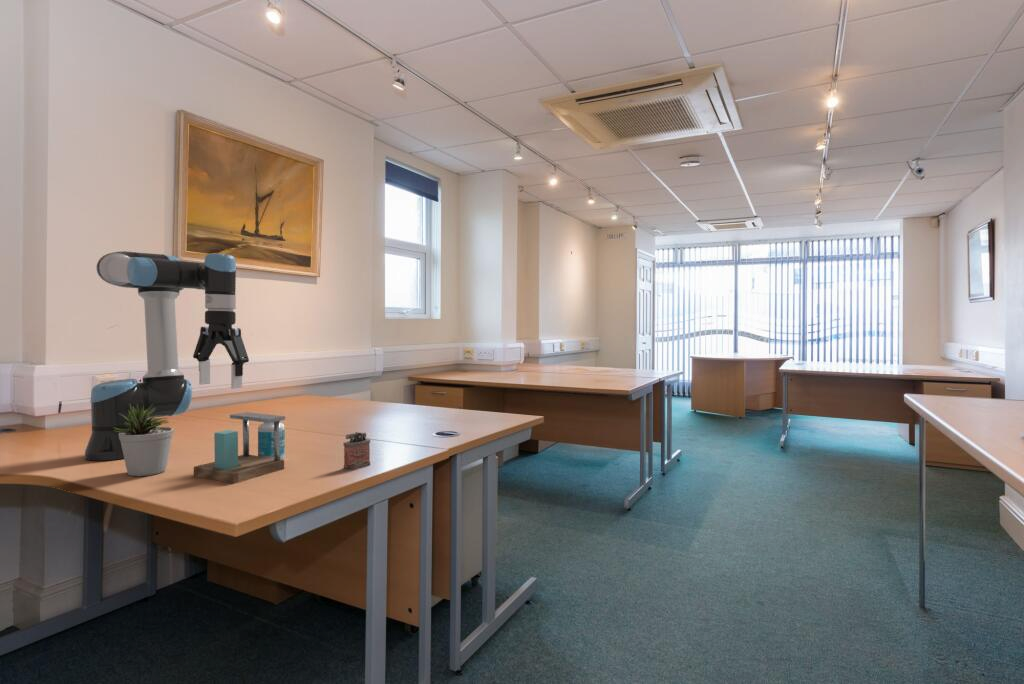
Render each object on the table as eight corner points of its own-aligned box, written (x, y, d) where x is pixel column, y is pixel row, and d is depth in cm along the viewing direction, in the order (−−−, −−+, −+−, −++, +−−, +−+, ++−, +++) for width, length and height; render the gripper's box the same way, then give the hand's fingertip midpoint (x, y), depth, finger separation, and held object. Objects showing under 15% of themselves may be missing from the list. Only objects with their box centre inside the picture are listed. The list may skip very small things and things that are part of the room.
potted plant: (113, 471, 149) (112, 400, 148) (171, 464, 157) (170, 396, 157) (114, 482, 139) (112, 405, 138) (176, 473, 147) (175, 401, 147)
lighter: (366, 463, 159) (366, 429, 159) (372, 465, 157) (372, 431, 156) (341, 468, 154) (341, 433, 153) (347, 470, 151) (346, 435, 151)
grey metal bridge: (230, 466, 155) (229, 414, 155) (247, 462, 160) (246, 412, 160) (269, 473, 148) (268, 419, 148) (285, 468, 153) (285, 416, 153)
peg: (214, 476, 144) (214, 432, 144) (228, 473, 148) (227, 430, 148) (225, 478, 143) (224, 434, 142) (238, 475, 146) (237, 431, 146)
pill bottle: (274, 464, 157) (274, 418, 157) (252, 463, 159) (251, 417, 159) (290, 458, 165) (289, 414, 164) (268, 457, 166) (268, 413, 166)
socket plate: (193, 475, 145) (193, 466, 145) (245, 462, 160) (245, 454, 159) (233, 483, 138) (233, 474, 138) (284, 468, 153) (284, 460, 153)
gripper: (178, 309, 151) (179, 383, 152) (238, 310, 140) (238, 391, 141) (204, 309, 158) (204, 381, 159) (263, 311, 147) (262, 388, 148)
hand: (220, 386), depth 150 cm, fingers open, 13 cm apart
